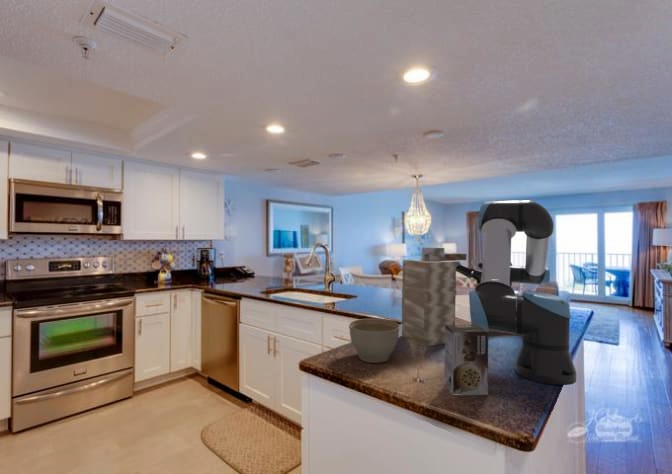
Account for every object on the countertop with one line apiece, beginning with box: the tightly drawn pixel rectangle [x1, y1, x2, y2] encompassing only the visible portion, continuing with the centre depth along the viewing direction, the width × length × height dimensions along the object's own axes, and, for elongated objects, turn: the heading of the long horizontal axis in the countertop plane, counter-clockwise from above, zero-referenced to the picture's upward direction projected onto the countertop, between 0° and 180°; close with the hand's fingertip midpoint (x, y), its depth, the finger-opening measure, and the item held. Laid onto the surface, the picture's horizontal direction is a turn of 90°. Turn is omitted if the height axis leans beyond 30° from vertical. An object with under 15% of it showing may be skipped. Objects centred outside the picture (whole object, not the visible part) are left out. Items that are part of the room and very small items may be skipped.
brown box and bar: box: [421, 246, 468, 261], centre depth 137 cm, size 20×6×5 cm, turn 118°
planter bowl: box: [348, 318, 401, 364], centre depth 111 cm, size 16×16×11 cm
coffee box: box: [444, 324, 489, 396], centre depth 89 cm, size 9×6×16 cm
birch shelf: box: [401, 258, 461, 347], centre depth 133 cm, size 16×14×30 cm
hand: (459, 259), depth 141 cm, fingers open, 13 cm apart
